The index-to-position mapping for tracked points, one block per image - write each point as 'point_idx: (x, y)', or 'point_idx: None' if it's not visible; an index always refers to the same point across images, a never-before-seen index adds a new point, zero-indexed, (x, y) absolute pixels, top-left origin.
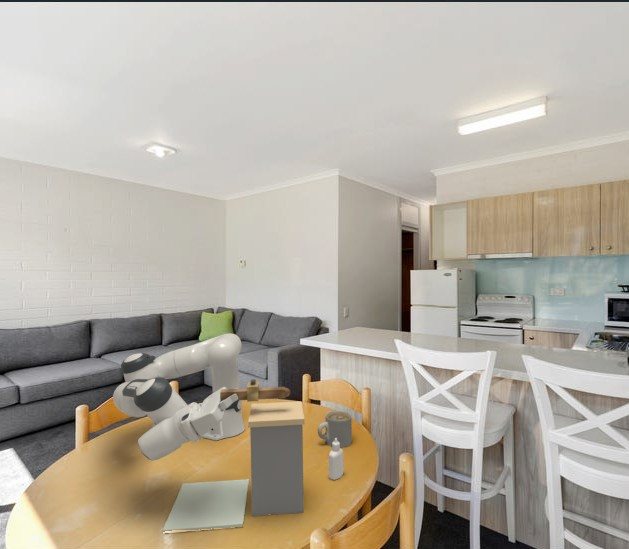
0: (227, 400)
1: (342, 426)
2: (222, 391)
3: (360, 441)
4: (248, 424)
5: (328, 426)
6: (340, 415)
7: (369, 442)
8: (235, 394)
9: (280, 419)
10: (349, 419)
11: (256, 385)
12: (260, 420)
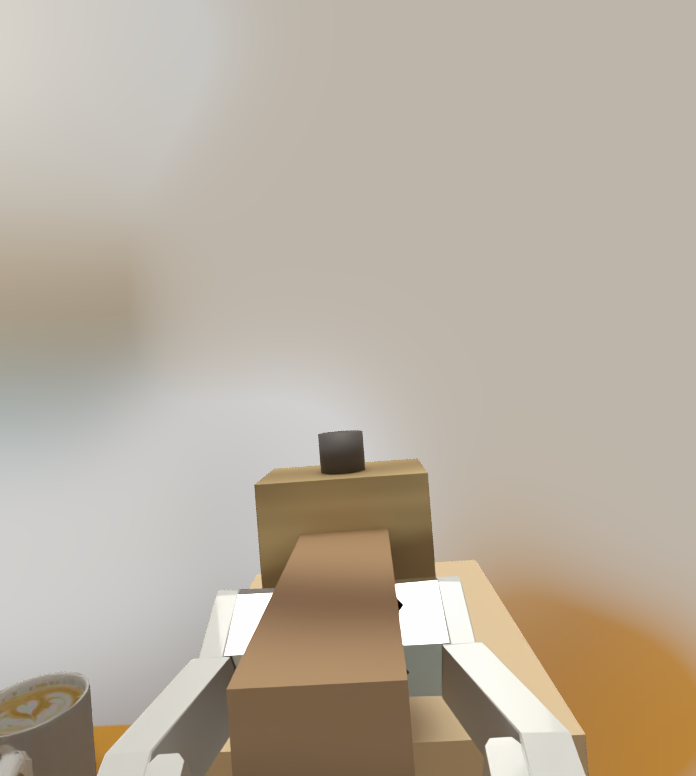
0: (519, 692)
1: (86, 716)
2: (358, 662)
3: (96, 745)
4: (585, 757)
5: (29, 763)
6: (14, 705)
7: (122, 725)
8: (457, 576)
9: (496, 607)
10: (87, 680)
11: (381, 463)
12: (531, 673)
